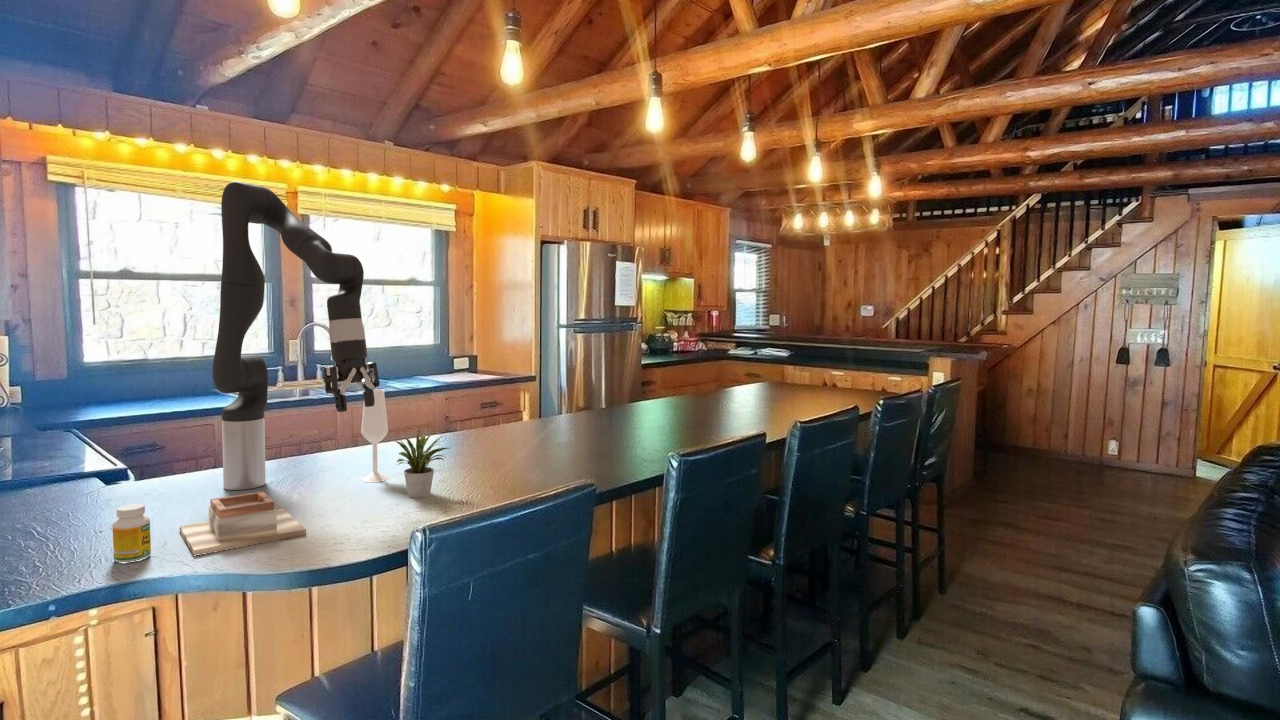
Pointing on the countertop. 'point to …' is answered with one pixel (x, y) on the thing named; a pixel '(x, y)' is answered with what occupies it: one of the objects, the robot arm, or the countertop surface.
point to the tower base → (213, 544)
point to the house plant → (419, 466)
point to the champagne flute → (375, 430)
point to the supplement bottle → (131, 534)
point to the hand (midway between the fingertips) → (356, 409)
